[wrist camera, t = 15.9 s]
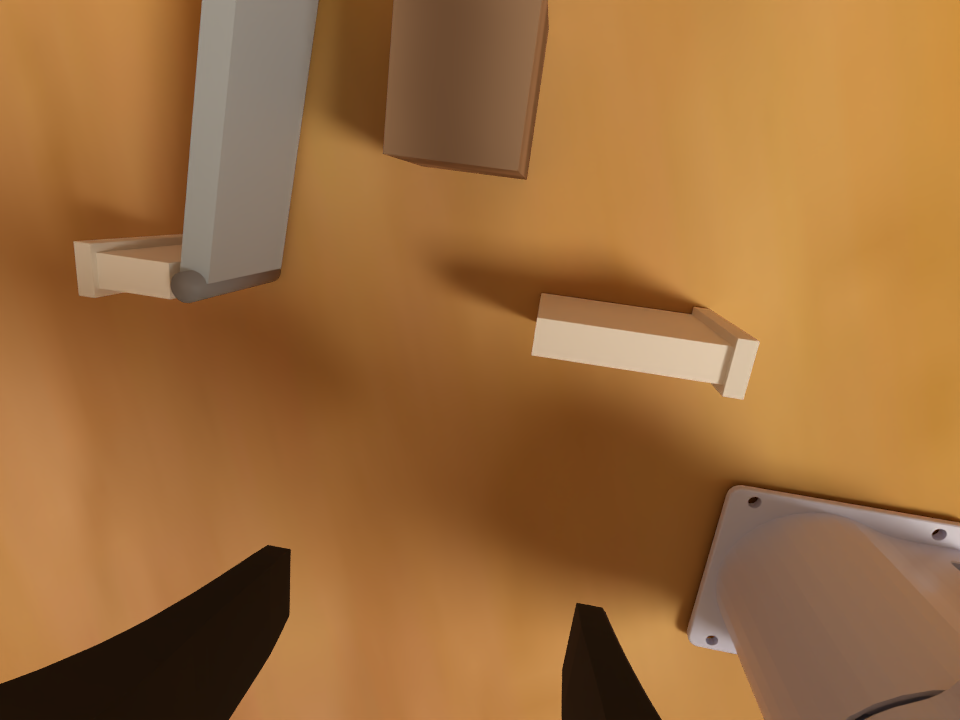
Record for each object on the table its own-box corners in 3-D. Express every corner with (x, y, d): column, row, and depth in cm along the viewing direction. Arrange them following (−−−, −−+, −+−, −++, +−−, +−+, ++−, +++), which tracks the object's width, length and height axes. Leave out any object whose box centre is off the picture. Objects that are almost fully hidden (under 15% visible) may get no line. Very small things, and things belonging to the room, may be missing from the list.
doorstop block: (548, 29, 18) (546, -33, 14) (526, 179, 20) (518, 171, 15) (437, 18, 19) (396, -47, 14) (423, 166, 20) (382, 153, 16)
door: (263, -41, 19) (158, -130, 14) (322, -26, 19) (237, -112, 14) (229, 270, 22) (135, 288, 17) (279, 284, 22) (198, 306, 17)
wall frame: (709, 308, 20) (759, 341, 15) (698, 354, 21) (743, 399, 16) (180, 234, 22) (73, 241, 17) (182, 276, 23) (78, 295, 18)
